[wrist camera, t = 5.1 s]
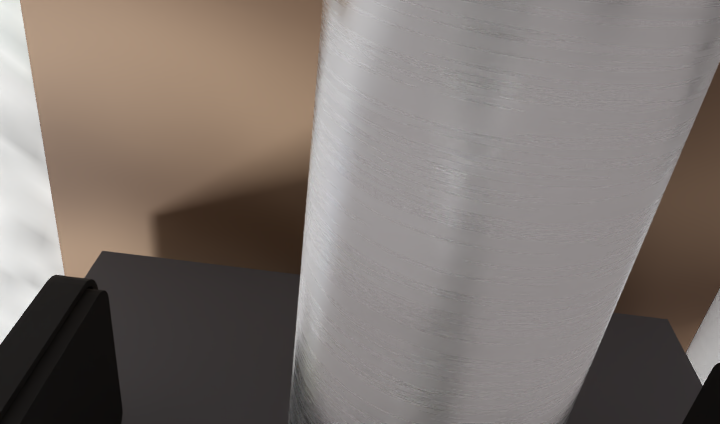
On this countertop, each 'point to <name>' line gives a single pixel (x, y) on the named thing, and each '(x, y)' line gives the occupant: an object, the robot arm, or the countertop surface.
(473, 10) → the pipe
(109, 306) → the robot arm
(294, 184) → the stand
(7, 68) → the countertop surface
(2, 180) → the countertop surface
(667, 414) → the dark grey flat plate
